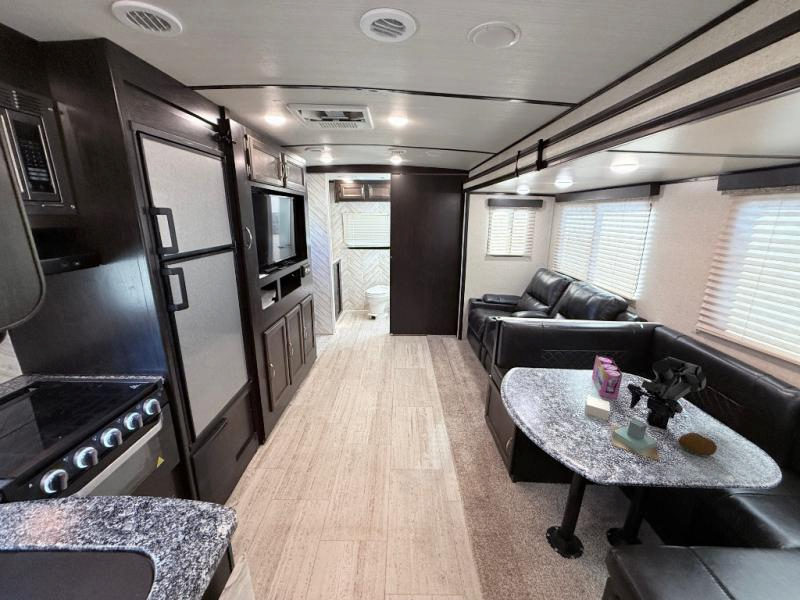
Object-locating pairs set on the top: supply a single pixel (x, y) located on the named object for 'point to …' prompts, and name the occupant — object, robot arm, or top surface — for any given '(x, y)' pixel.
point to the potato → (697, 444)
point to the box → (597, 407)
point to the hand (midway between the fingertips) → (642, 413)
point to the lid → (635, 436)
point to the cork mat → (615, 442)
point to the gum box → (606, 377)
